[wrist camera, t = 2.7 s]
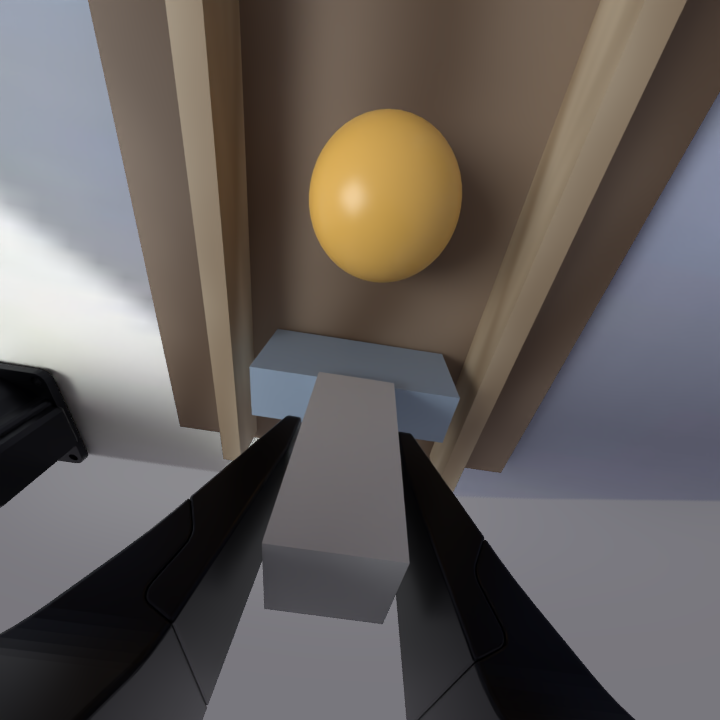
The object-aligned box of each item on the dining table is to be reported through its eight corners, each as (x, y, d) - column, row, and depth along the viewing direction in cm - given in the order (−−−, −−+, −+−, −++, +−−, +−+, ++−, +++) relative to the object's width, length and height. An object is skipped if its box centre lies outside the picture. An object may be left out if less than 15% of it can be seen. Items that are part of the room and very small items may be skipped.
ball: (318, 257, 11) (289, 287, 7) (328, 116, 9) (294, 63, 5) (426, 274, 11) (450, 312, 7) (461, 139, 9) (516, 102, 5)
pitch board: (191, 413, 16) (154, 456, 13) (62, -277, 6) (-160, -606, 4) (494, 457, 16) (516, 507, 14) (807, -125, 7) (1077, -325, 4)
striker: (277, 374, 13) (153, 594, 6) (277, 324, 12) (122, 524, 5) (428, 396, 13) (488, 638, 6) (443, 349, 12) (541, 581, 5)
